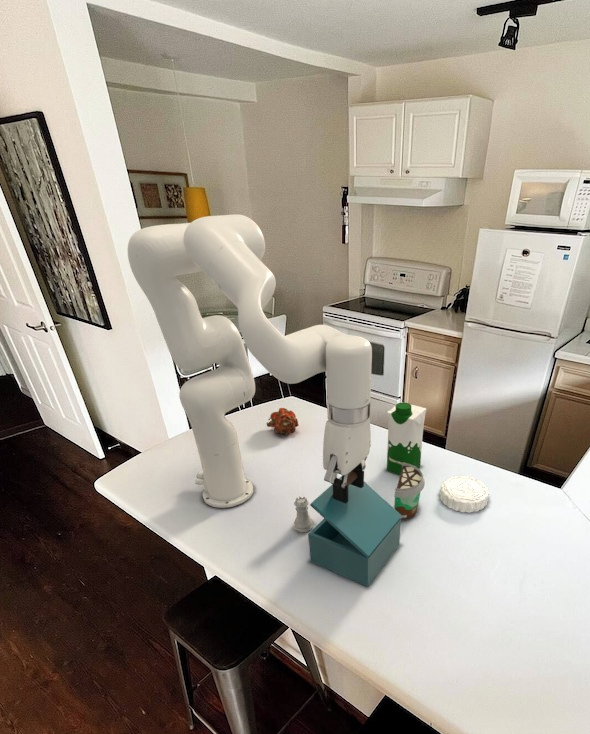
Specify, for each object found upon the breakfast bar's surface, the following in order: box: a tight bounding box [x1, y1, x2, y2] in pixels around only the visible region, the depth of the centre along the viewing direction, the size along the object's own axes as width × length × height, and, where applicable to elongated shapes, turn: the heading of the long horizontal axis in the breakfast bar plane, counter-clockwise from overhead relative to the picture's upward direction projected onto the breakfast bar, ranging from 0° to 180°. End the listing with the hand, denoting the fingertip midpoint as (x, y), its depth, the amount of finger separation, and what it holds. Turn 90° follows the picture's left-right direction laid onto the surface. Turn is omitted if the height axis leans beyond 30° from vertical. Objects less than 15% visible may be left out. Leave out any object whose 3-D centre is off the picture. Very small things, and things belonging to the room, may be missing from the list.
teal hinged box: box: [307, 518, 402, 588], centre depth 94 cm, size 14×14×8 cm
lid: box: [309, 471, 402, 558], centre depth 88 cm, size 15×14×5 cm
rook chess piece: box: [293, 496, 314, 533], centre depth 101 cm, size 4×4×8 cm
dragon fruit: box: [266, 407, 300, 436], centre depth 140 cm, size 8×8×12 cm
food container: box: [394, 463, 426, 521], centre depth 106 cm, size 12×6×10 cm, turn 168°
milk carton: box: [386, 401, 427, 476], centre depth 119 cm, size 9×9×20 cm
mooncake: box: [439, 475, 490, 514], centre depth 112 cm, size 12×12×4 cm
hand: (348, 492), depth 88 cm, fingers closed on lid, 5 cm apart
